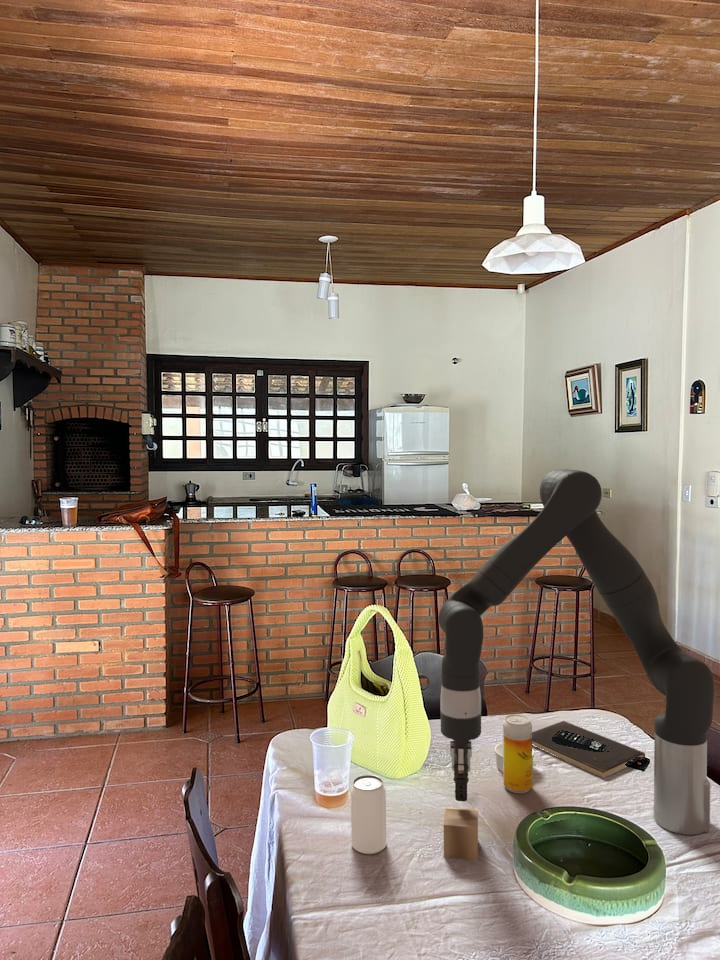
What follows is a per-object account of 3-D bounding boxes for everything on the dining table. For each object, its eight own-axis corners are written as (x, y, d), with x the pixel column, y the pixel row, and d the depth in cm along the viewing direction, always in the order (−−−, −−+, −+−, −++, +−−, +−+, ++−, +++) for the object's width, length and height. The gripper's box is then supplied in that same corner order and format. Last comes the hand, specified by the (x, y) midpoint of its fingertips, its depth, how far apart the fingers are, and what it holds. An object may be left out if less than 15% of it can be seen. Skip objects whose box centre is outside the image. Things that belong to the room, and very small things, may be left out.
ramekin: (539, 765, 157) (539, 746, 157) (526, 781, 150) (526, 762, 150) (502, 756, 162) (502, 738, 162) (488, 771, 155) (488, 752, 154)
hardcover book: (603, 781, 150) (603, 771, 150) (523, 744, 169) (523, 735, 169) (645, 761, 159) (645, 751, 159) (564, 728, 178) (564, 720, 178)
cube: (477, 810, 127) (477, 827, 121) (477, 841, 127) (477, 860, 122) (445, 807, 128) (443, 824, 122) (445, 838, 129) (443, 857, 123)
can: (361, 859, 122) (360, 794, 122) (345, 841, 128) (344, 778, 127) (392, 849, 125) (392, 785, 125) (375, 831, 131) (375, 770, 130)
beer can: (532, 795, 143) (532, 726, 143) (503, 793, 145) (503, 724, 144) (531, 781, 149) (531, 714, 149) (503, 779, 151) (503, 712, 150)
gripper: (482, 724, 120) (482, 819, 121) (480, 696, 133) (480, 783, 134) (439, 722, 121) (440, 816, 122) (441, 694, 134) (442, 780, 135)
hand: (461, 799), depth 128 cm, fingers closed
